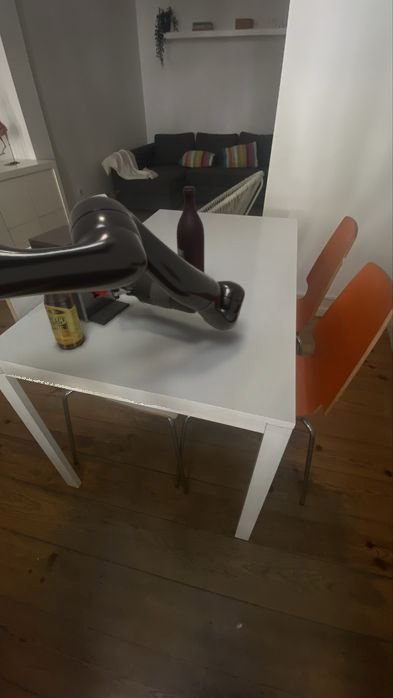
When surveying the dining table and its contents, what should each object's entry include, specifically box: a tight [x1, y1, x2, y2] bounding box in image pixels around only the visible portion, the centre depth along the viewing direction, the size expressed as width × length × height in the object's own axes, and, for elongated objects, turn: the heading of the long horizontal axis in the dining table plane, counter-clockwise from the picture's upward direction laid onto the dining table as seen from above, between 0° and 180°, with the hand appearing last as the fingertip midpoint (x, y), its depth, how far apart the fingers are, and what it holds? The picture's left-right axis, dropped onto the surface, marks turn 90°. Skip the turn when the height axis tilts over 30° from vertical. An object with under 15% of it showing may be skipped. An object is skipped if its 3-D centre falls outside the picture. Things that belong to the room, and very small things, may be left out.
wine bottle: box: [176, 185, 205, 273], centre depth 83 cm, size 7×7×30 cm
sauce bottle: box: [43, 293, 84, 350], centre depth 71 cm, size 7×6×20 cm
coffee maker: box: [27, 224, 130, 326], centre depth 84 cm, size 18×12×20 cm, turn 63°
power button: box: [94, 290, 107, 296], centre depth 84 cm, size 2×3×3 cm, turn 153°
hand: (102, 276), depth 81 cm, fingers closed
